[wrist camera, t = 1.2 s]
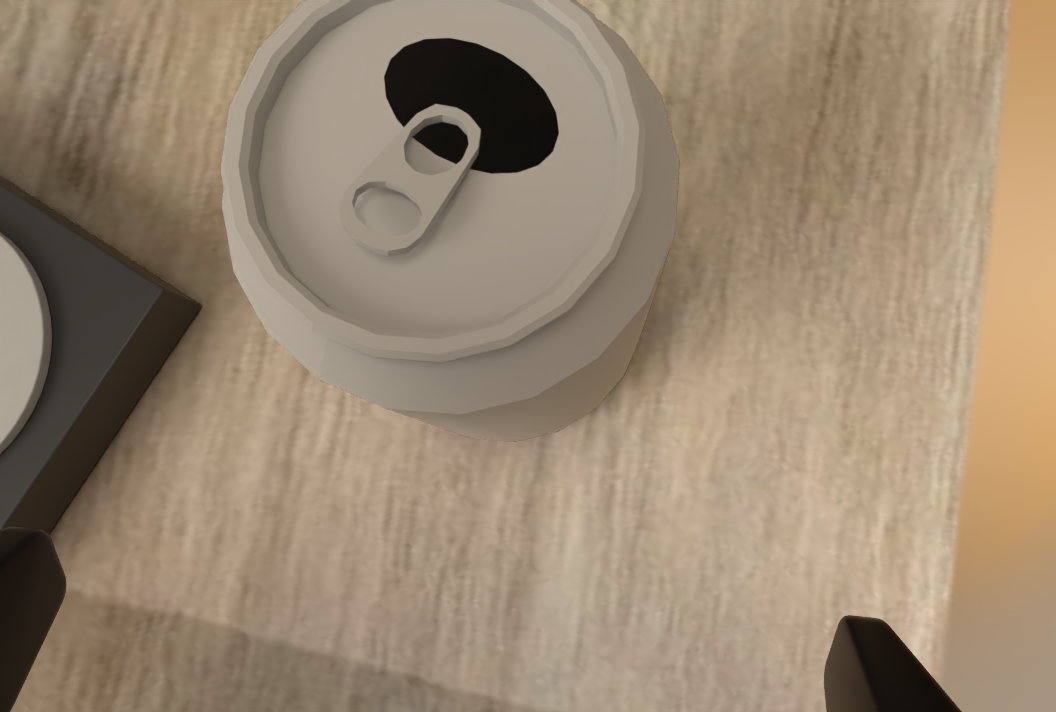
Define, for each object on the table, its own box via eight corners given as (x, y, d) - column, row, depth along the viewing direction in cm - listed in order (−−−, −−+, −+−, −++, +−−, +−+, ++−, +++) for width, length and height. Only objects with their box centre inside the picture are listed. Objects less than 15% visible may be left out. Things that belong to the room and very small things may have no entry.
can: (692, 265, 24) (793, 49, 12) (551, 495, 23) (508, 512, 11) (468, 137, 25) (354, -180, 13) (328, 354, 24) (71, 231, 12)
